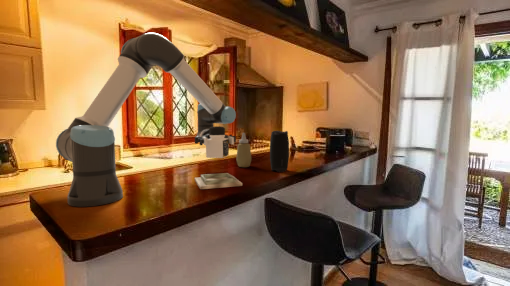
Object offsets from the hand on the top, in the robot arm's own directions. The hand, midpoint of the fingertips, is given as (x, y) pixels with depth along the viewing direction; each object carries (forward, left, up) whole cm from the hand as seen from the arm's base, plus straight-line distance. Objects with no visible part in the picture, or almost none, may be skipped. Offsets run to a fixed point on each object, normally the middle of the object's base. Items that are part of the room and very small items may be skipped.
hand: (219, 141), depth 105 cm
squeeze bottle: (+21, +36, -17) cm, 45 cm away
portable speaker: (+34, +19, -17) cm, 43 cm away
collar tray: (0, +4, -17) cm, 18 cm away
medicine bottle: (0, +5, -7) cm, 8 cm away
